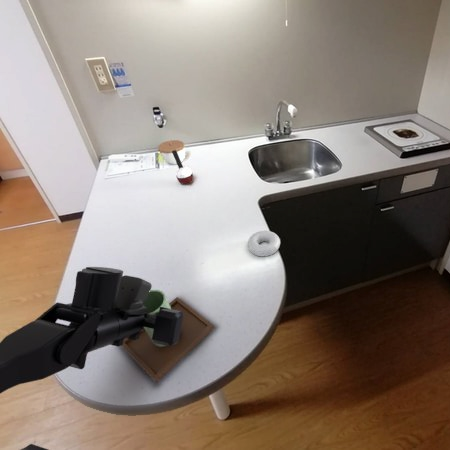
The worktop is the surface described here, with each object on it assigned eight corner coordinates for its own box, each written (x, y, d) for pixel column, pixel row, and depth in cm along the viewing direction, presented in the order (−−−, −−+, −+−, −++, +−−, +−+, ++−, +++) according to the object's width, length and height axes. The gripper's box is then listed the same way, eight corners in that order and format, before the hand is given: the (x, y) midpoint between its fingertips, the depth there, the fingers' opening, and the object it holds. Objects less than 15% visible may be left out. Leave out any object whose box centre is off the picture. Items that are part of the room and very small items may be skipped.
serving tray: (156, 383, 64) (154, 379, 63) (122, 346, 70) (119, 343, 69) (214, 328, 73) (212, 324, 72) (178, 300, 80) (177, 296, 78)
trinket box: (183, 153, 143) (178, 134, 137) (191, 162, 136) (186, 142, 130) (160, 160, 138) (153, 140, 132) (167, 169, 132) (160, 149, 125)
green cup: (153, 351, 67) (133, 320, 59) (150, 328, 72) (131, 296, 64) (183, 339, 69) (168, 307, 62) (178, 317, 74) (163, 285, 66)
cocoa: (194, 186, 121) (186, 159, 113) (177, 189, 120) (169, 161, 112) (194, 174, 128) (187, 148, 120) (179, 176, 127) (171, 150, 119)
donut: (256, 233, 100) (242, 254, 92) (255, 225, 97) (241, 246, 90) (285, 240, 97) (273, 261, 90) (284, 232, 95) (272, 253, 88)
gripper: (162, 290, 51) (206, 282, 66) (69, 272, 54) (131, 268, 69) (150, 358, 50) (197, 334, 65) (55, 335, 53) (121, 317, 69)
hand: (161, 311), depth 67 cm, fingers closed on green cup, 6 cm apart
